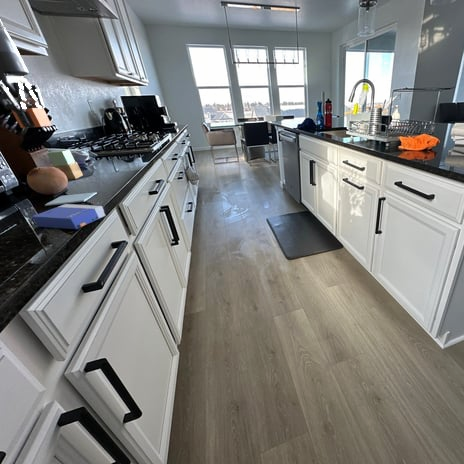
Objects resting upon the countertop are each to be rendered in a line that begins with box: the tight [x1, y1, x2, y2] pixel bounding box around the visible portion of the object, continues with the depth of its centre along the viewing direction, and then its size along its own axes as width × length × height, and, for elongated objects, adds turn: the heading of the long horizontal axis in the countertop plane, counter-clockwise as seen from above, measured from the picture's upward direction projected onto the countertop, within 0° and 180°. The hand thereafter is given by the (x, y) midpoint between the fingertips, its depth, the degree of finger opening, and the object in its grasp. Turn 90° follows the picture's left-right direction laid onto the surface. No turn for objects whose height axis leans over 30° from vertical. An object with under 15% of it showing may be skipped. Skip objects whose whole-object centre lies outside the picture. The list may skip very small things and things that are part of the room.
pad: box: [44, 191, 98, 207], centre depth 78 cm, size 10×8×1 cm
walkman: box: [31, 203, 106, 230], centre depth 62 cm, size 8×3×12 cm
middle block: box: [46, 149, 76, 166], centre depth 98 cm, size 5×5×5 cm
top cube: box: [11, 107, 52, 129], centre depth 69 cm, size 5×5×5 cm
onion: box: [26, 166, 69, 196], centre depth 82 cm, size 10×9×10 cm
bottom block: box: [51, 161, 84, 181], centre depth 101 cm, size 6×6×6 cm
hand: (36, 126), depth 70 cm, fingers closed on top cube, 4 cm apart
